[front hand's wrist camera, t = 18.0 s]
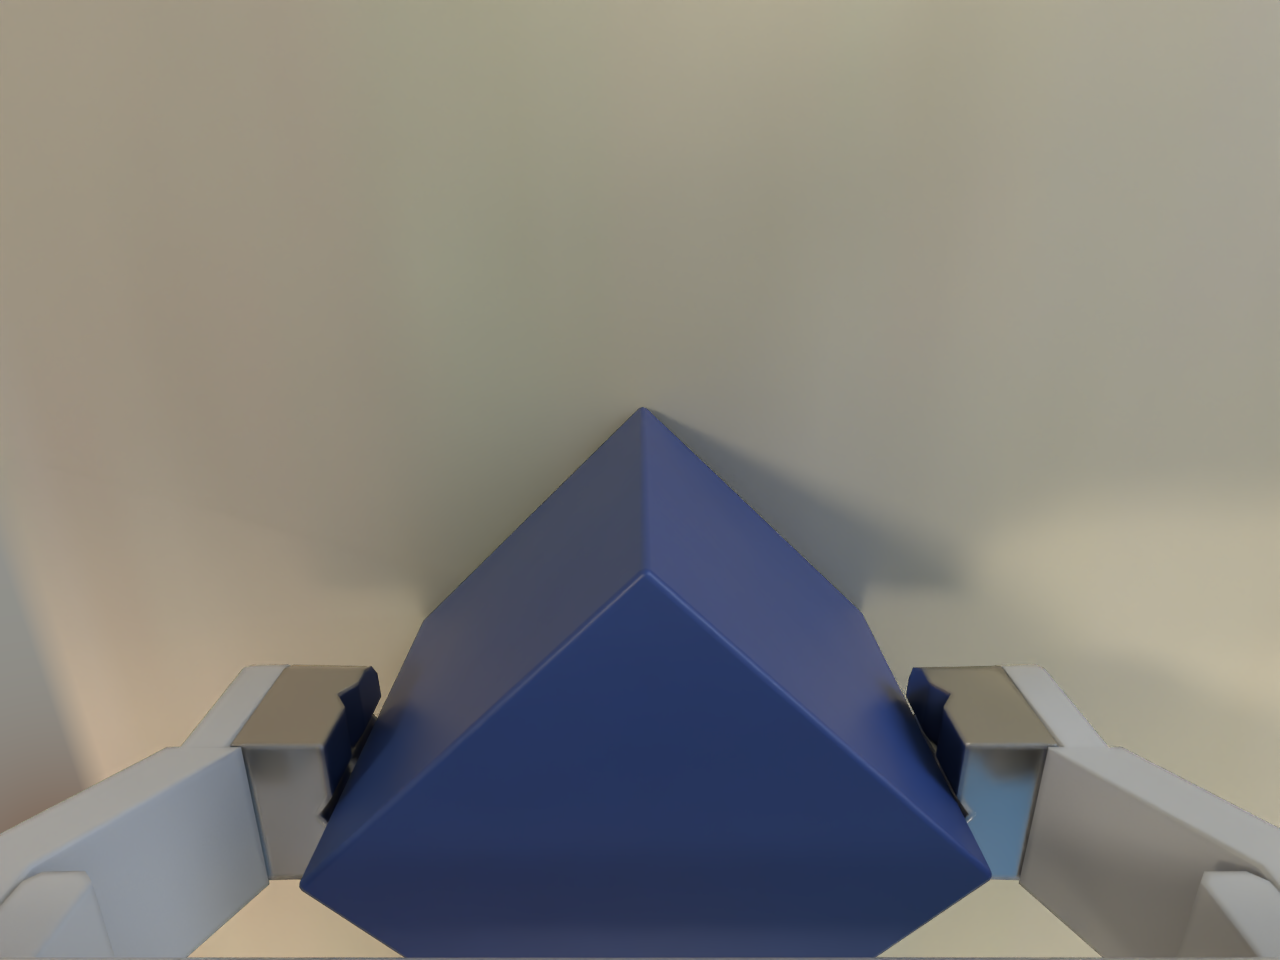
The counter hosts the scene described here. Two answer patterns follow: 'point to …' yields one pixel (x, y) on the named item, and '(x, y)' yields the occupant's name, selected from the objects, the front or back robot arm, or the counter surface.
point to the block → (644, 747)
